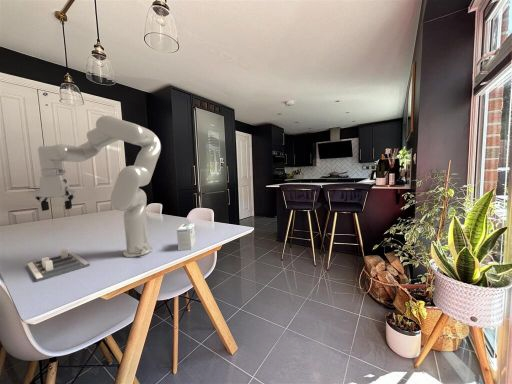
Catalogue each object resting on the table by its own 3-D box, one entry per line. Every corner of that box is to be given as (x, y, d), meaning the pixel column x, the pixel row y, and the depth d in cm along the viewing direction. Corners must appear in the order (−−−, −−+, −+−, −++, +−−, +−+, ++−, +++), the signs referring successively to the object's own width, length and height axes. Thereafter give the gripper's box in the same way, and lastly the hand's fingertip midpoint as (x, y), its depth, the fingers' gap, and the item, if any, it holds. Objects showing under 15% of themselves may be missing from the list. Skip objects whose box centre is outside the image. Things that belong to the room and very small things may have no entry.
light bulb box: (183, 243, 116) (181, 224, 115) (196, 242, 116) (194, 223, 115) (177, 250, 105) (176, 229, 104) (191, 249, 106) (190, 228, 105)
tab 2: (53, 269, 86) (52, 261, 85) (46, 271, 84) (45, 263, 84) (52, 268, 87) (51, 259, 87) (45, 270, 86) (44, 261, 85)
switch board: (89, 265, 91) (89, 261, 91) (36, 281, 79) (35, 277, 78) (73, 254, 106) (73, 250, 106) (26, 266, 93) (26, 262, 93)
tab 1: (50, 266, 89) (49, 258, 89) (43, 267, 88) (42, 259, 87) (49, 264, 91) (47, 256, 90) (42, 266, 89) (41, 258, 89)
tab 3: (68, 257, 99) (67, 250, 98) (62, 258, 97) (61, 251, 97) (66, 256, 100) (66, 249, 100) (61, 257, 98) (60, 250, 98)
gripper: (78, 172, 105) (82, 207, 106) (38, 174, 102) (43, 209, 104) (67, 172, 97) (72, 209, 99) (23, 174, 95) (29, 212, 96)
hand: (57, 209), depth 101 cm, fingers open, 9 cm apart
